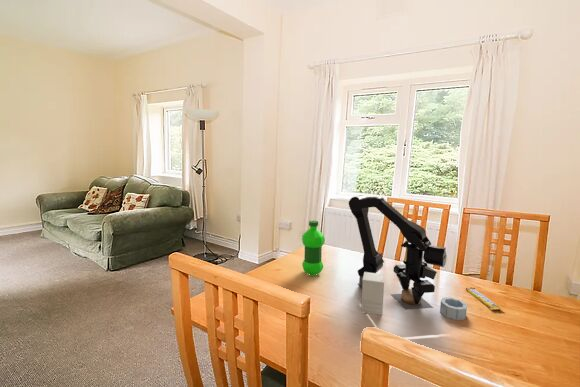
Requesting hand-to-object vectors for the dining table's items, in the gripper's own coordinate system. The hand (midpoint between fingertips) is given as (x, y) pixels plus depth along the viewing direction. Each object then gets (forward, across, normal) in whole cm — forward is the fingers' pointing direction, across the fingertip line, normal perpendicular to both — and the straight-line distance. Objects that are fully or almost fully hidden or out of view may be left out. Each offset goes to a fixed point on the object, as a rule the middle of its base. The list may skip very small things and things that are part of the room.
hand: (411, 298), depth 110 cm
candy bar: (+2, -2, -29) cm, 29 cm away
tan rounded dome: (+1, 0, 0) cm, 1 cm away
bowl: (+1, -10, -10) cm, 14 cm away
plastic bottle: (+2, +30, +32) cm, 44 cm away
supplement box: (+2, -3, +17) cm, 17 cm away
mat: (+1, 0, 0) cm, 1 cm away
